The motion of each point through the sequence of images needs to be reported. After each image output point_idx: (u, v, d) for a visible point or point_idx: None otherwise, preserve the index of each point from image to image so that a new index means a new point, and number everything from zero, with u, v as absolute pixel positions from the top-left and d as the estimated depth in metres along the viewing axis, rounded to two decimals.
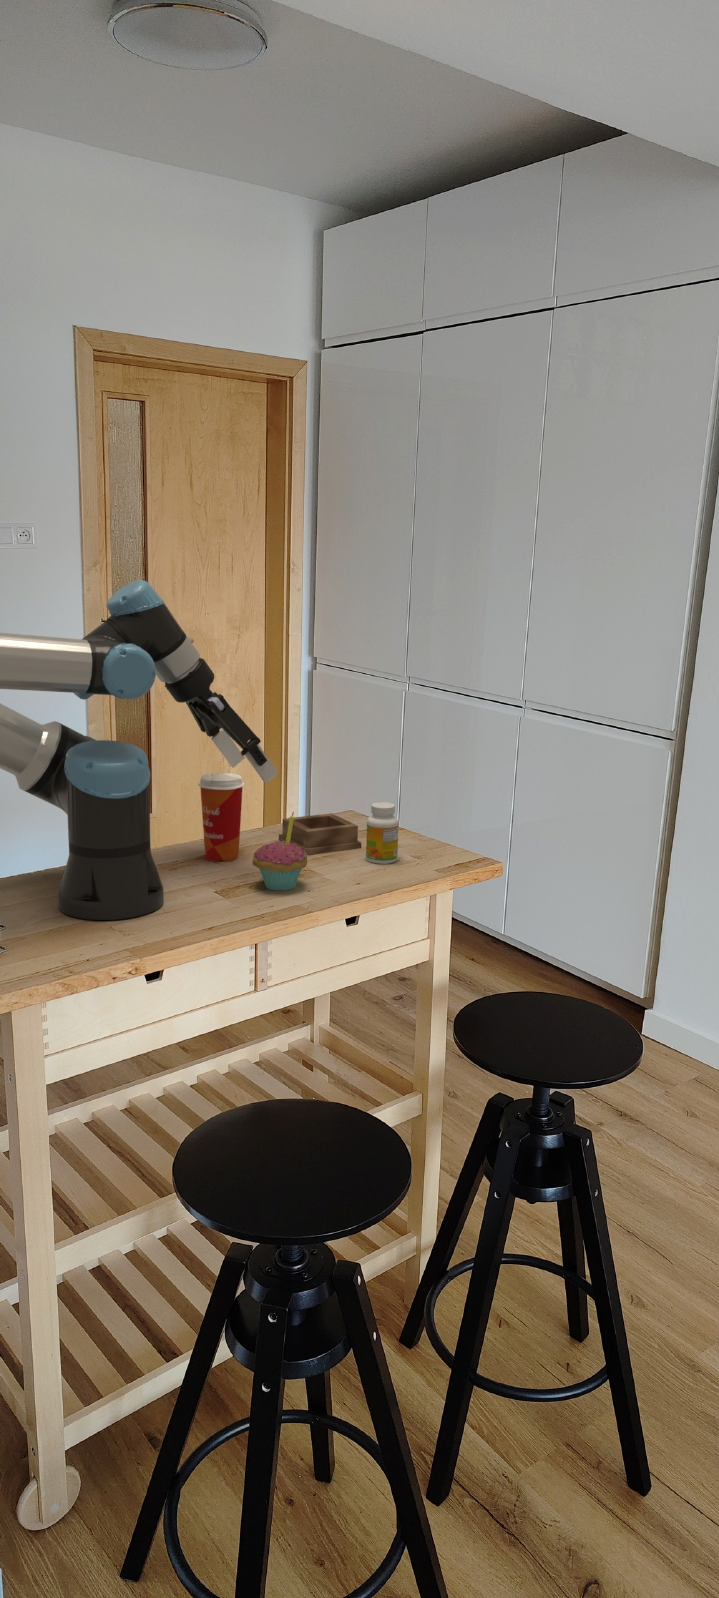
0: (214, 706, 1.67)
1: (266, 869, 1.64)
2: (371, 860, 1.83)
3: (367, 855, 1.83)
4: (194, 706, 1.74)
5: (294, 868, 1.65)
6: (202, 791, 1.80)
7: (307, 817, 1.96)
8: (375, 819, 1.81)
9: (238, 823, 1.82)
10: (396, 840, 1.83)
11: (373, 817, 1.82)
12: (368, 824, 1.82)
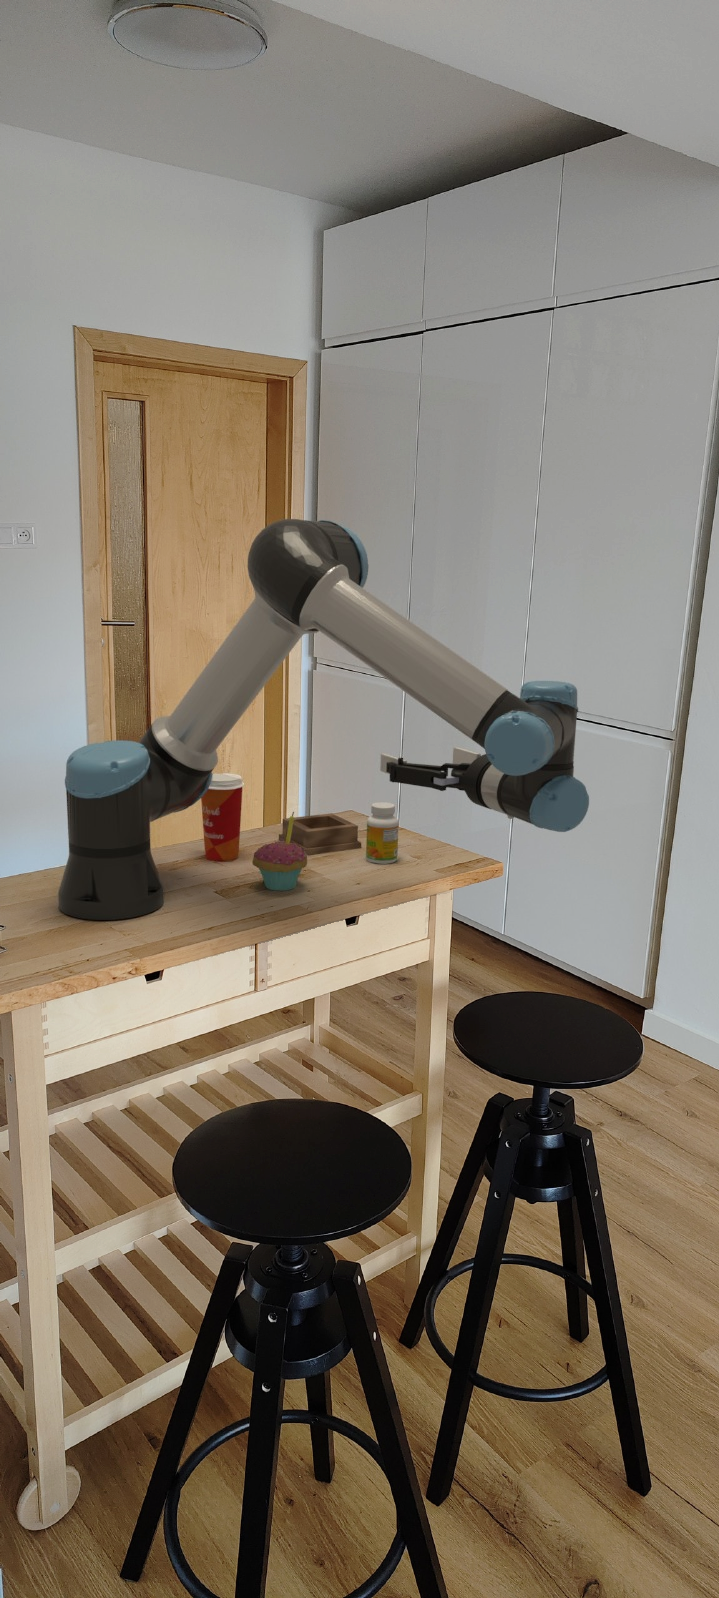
0: (438, 775, 1.54)
1: (266, 869, 1.64)
2: (371, 860, 1.83)
3: (367, 855, 1.83)
4: None
5: (294, 868, 1.65)
6: None
7: (307, 817, 1.96)
8: (375, 819, 1.81)
9: (238, 823, 1.82)
10: (396, 840, 1.83)
11: (373, 817, 1.82)
12: (368, 824, 1.82)
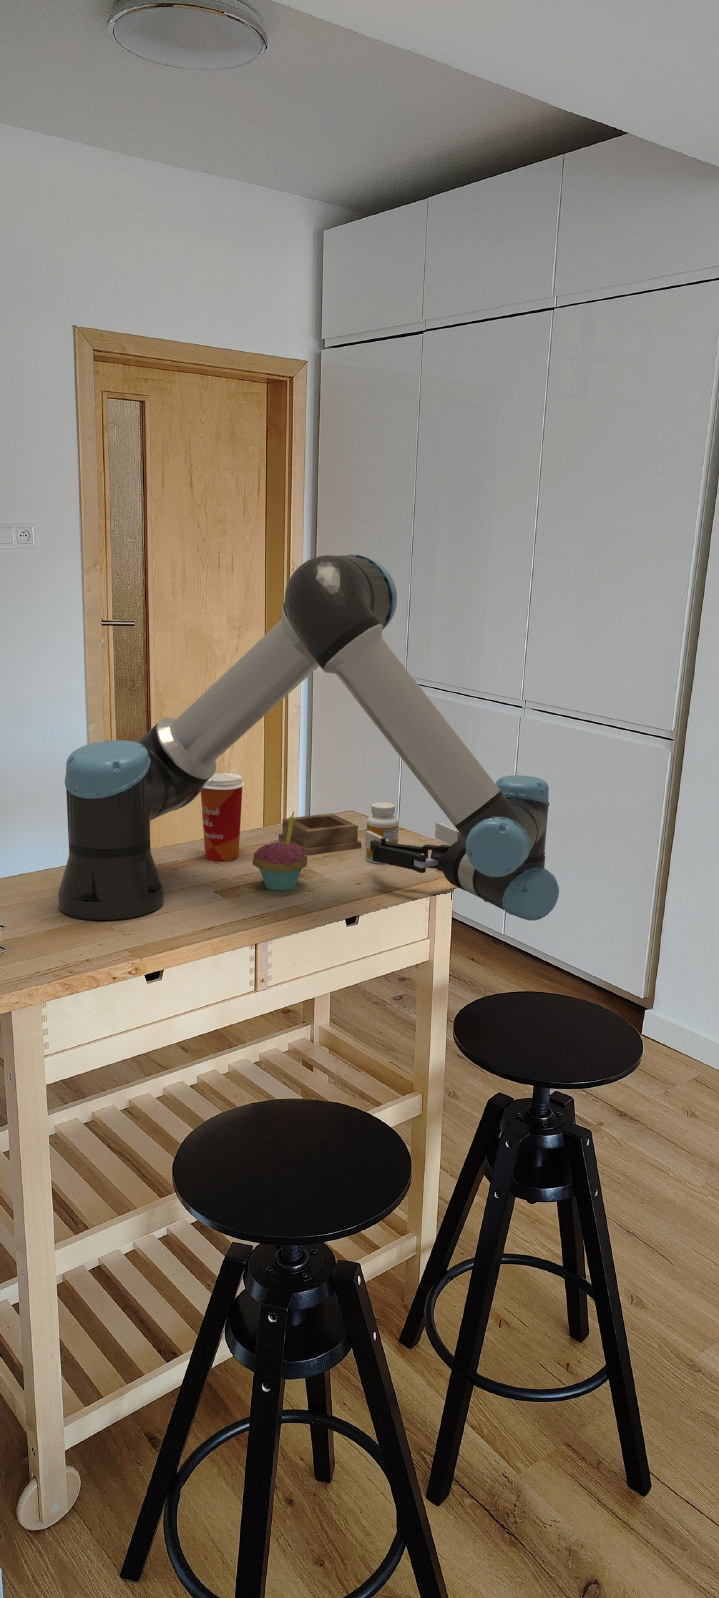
0: (418, 858, 1.62)
1: (266, 869, 1.64)
2: (371, 860, 1.83)
3: (367, 855, 1.83)
4: None
5: (294, 868, 1.65)
6: (202, 791, 1.80)
7: (307, 817, 1.96)
8: (375, 819, 1.81)
9: (238, 823, 1.82)
10: (396, 840, 1.83)
11: (373, 817, 1.82)
12: (368, 824, 1.82)
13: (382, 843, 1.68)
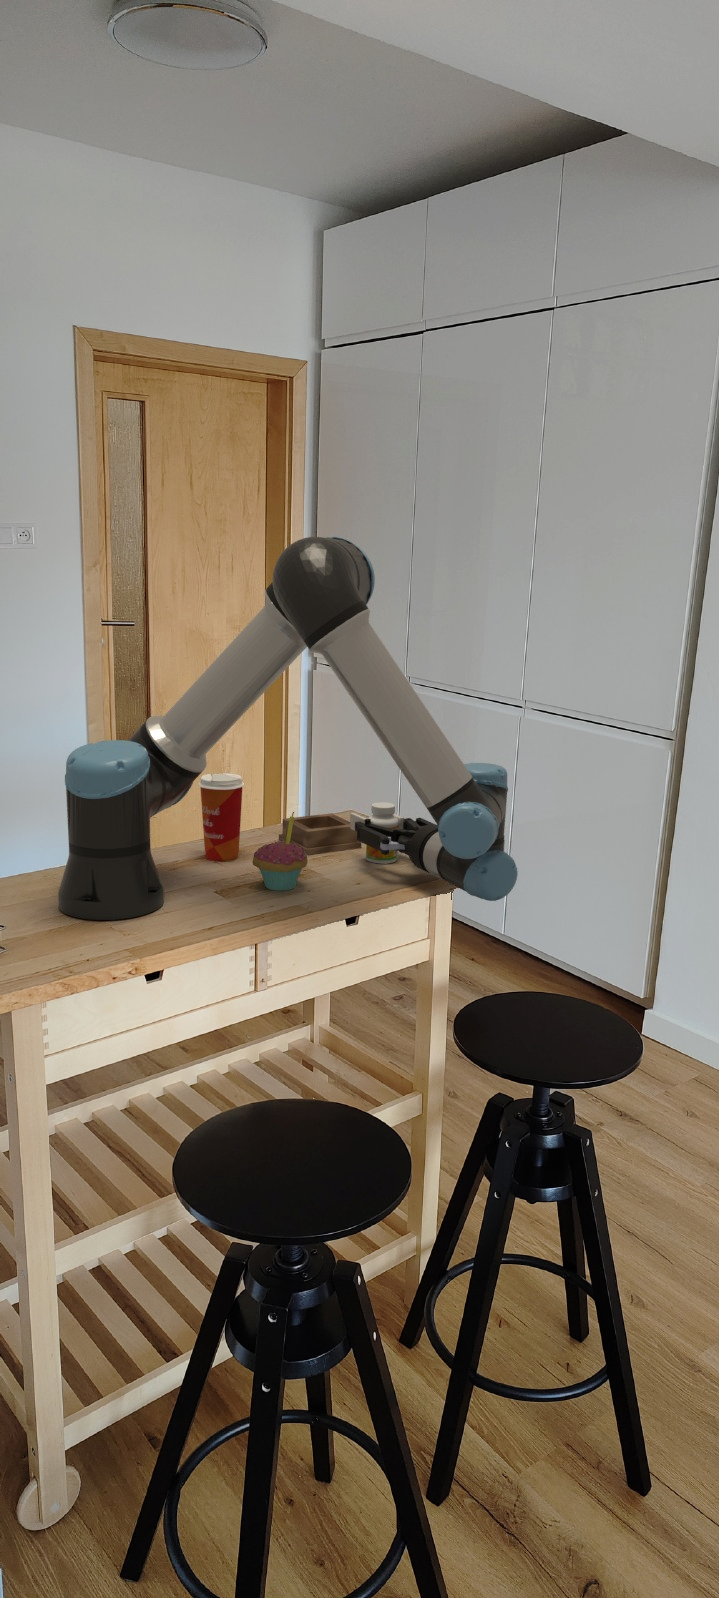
0: (381, 840, 1.71)
1: (266, 869, 1.64)
2: (371, 860, 1.83)
3: (367, 855, 1.83)
4: None
5: (294, 868, 1.65)
6: (202, 791, 1.80)
7: (307, 817, 1.96)
8: (375, 819, 1.81)
9: (238, 823, 1.82)
10: None
11: (373, 817, 1.82)
12: None
13: (365, 823, 1.79)
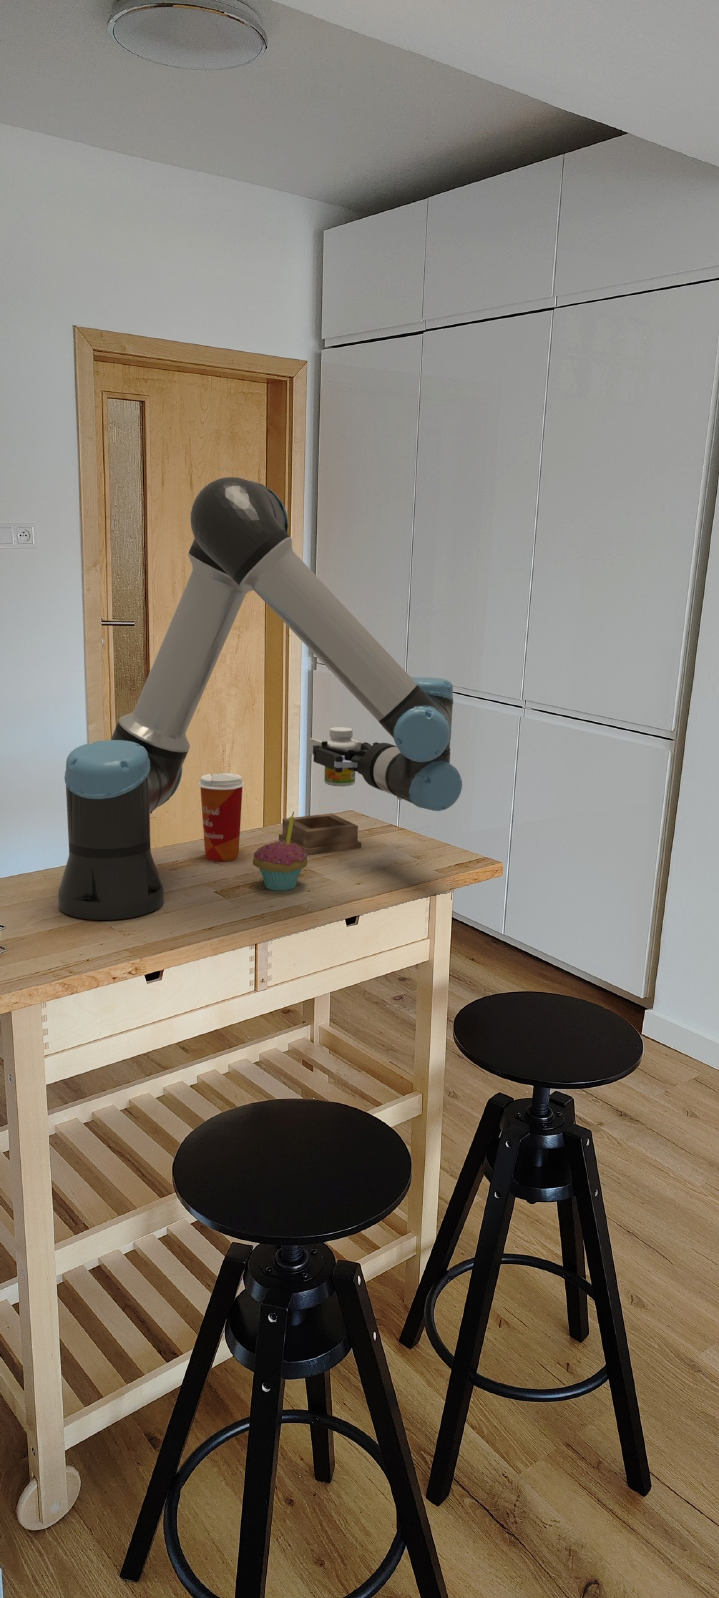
0: (335, 759, 1.75)
1: (266, 869, 1.64)
2: (329, 783, 1.87)
3: (325, 778, 1.88)
4: None
5: (294, 868, 1.65)
6: (202, 791, 1.80)
7: (307, 817, 1.96)
8: (332, 742, 1.85)
9: (238, 823, 1.82)
10: None
11: (331, 740, 1.86)
12: None
13: (322, 745, 1.83)
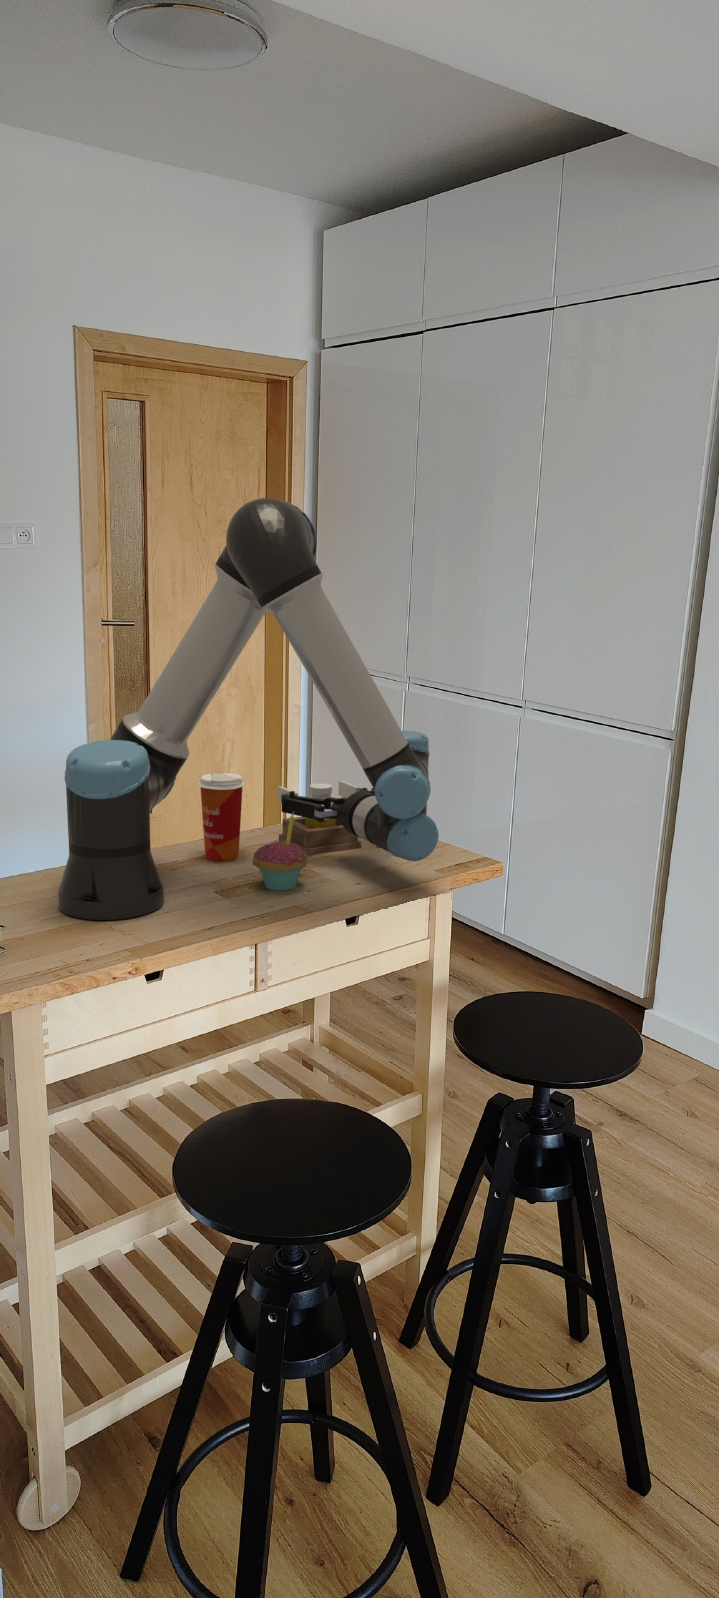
0: (317, 809, 1.78)
1: (266, 869, 1.64)
2: None
3: None
4: None
5: (294, 868, 1.65)
6: (202, 791, 1.80)
7: None
8: None
9: (238, 823, 1.82)
10: (333, 819, 1.91)
11: (311, 797, 1.91)
12: None
13: (290, 796, 1.85)
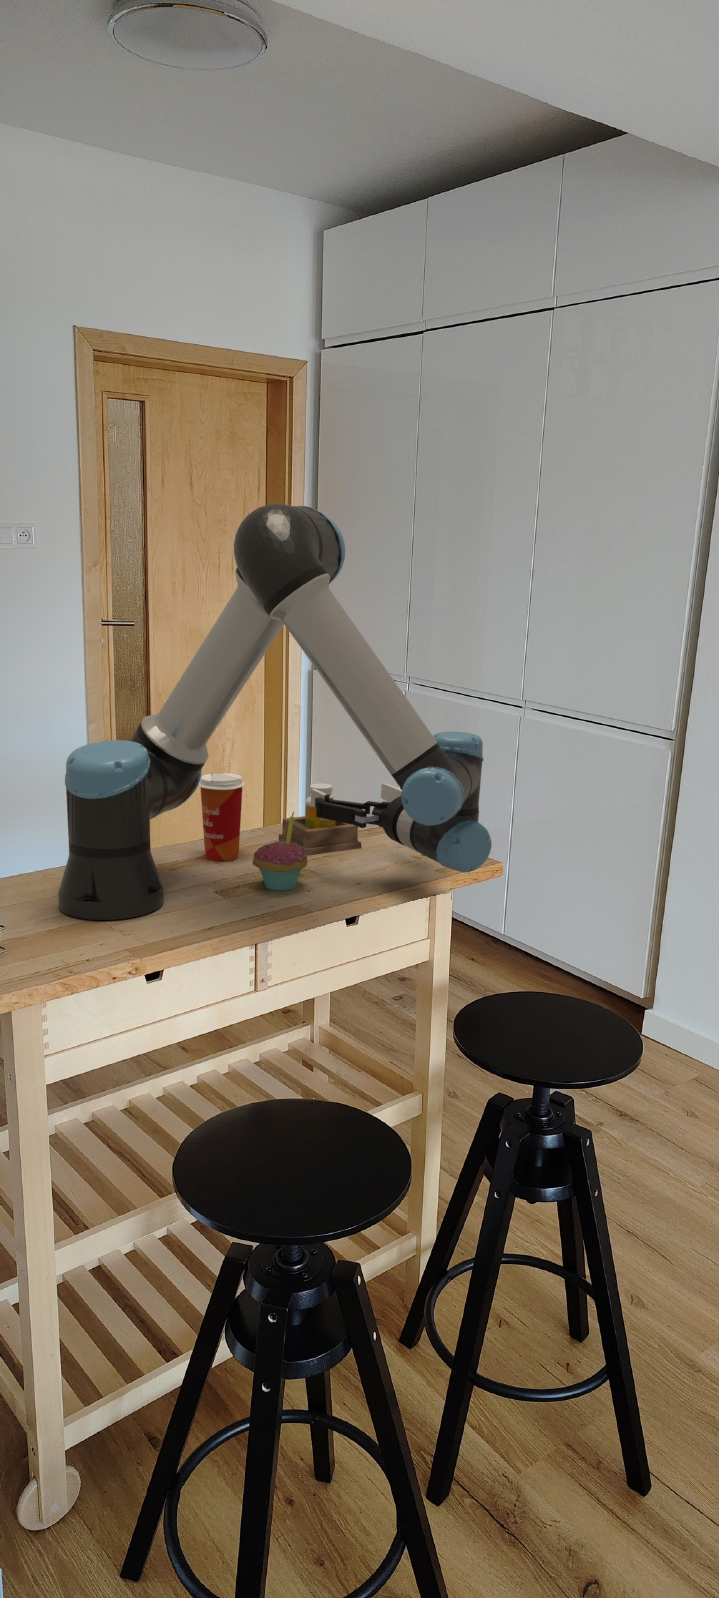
0: (358, 814, 1.66)
1: (266, 869, 1.64)
2: None
3: None
4: None
5: (294, 868, 1.65)
6: (202, 791, 1.80)
7: None
8: None
9: (238, 823, 1.82)
10: None
11: None
12: (306, 804, 1.91)
13: (326, 799, 1.72)
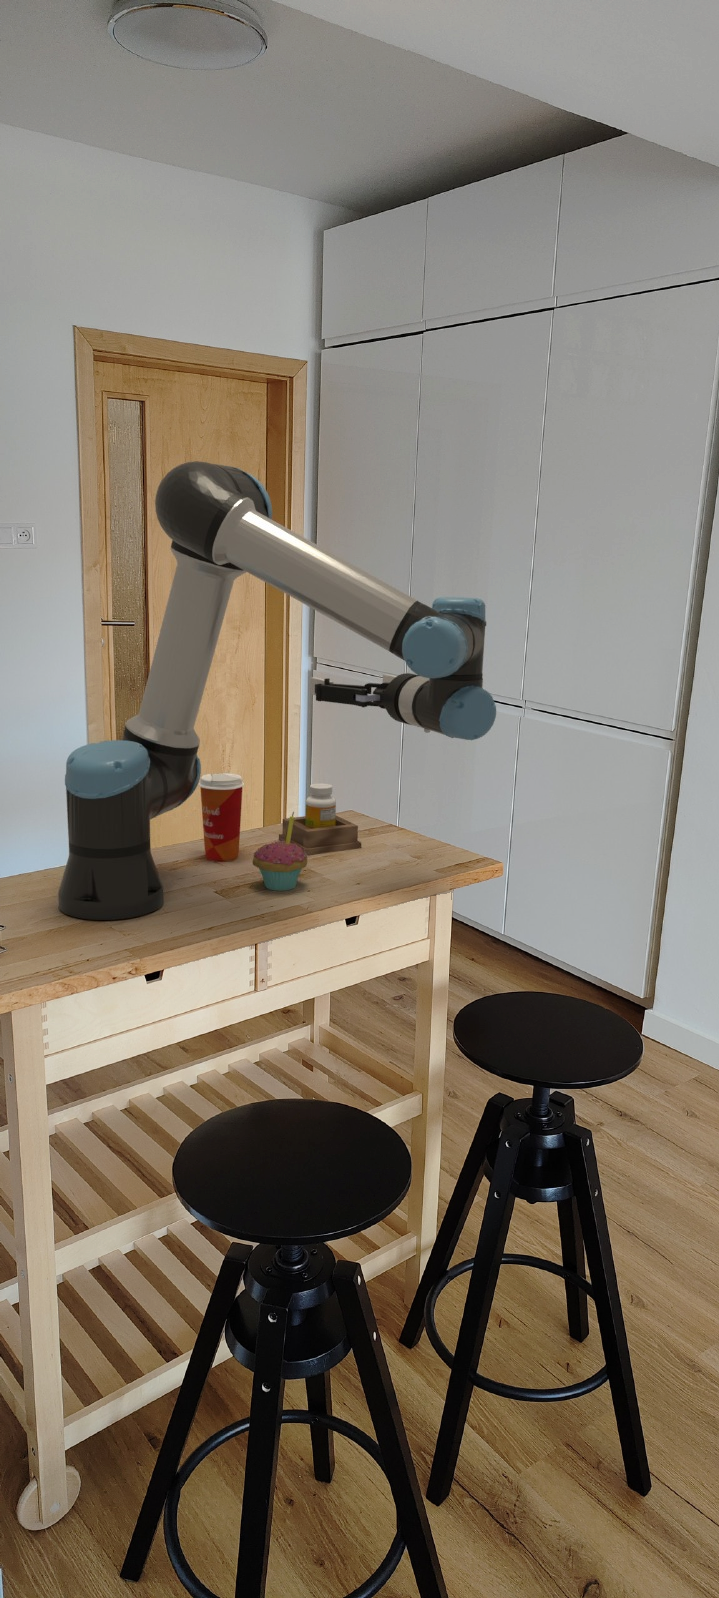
0: (359, 692, 1.62)
1: (266, 869, 1.64)
2: None
3: None
4: None
5: (294, 868, 1.65)
6: (202, 791, 1.80)
7: None
8: (313, 799, 1.90)
9: (238, 823, 1.82)
10: (333, 819, 1.91)
11: (311, 797, 1.91)
12: (306, 804, 1.91)
13: (325, 683, 1.68)
